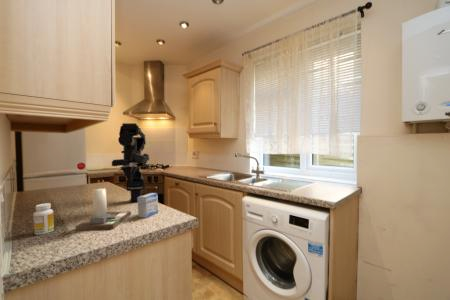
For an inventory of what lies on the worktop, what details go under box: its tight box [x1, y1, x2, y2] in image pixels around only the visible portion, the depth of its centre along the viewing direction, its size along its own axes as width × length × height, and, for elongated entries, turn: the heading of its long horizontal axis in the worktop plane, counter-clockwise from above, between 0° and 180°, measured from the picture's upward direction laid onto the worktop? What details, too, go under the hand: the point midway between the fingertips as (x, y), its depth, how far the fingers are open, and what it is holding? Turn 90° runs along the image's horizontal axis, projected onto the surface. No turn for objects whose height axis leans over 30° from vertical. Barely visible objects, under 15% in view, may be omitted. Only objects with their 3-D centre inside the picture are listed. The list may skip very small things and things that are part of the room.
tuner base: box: [75, 210, 132, 231], centre depth 84 cm, size 16×13×2 cm
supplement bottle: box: [33, 202, 55, 235], centre depth 76 cm, size 5×5×10 cm
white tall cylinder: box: [90, 187, 115, 224], centre depth 80 cm, size 5×8×12 cm, turn 92°
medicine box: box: [137, 192, 159, 219], centre depth 92 cm, size 8×4×9 cm, turn 161°
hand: (130, 181), depth 101 cm, fingers closed
